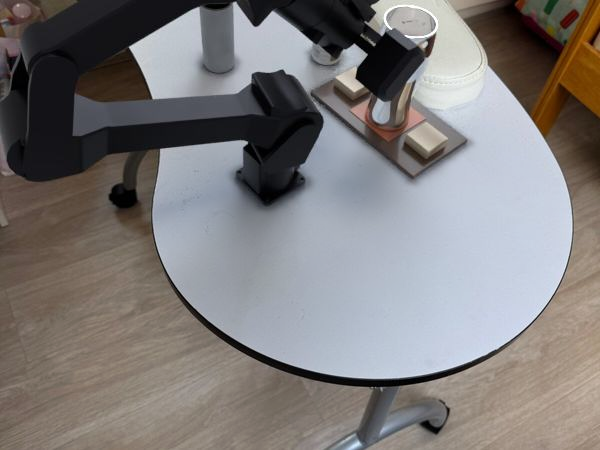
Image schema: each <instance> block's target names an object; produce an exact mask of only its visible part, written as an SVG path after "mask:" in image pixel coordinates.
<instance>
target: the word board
mask: <svg viewBox="0 0 600 450" xmlns="http://www.w3.org/2000/svg"><path fill="white" fill-rule="evenodd" d="M357 68H358V66H353V67H352V68H350V69H348V70H346V71H344V72H342V73H340V74H338V75H336V76H334V78H333V79H331V80H330V81H327V82H326V83H324V84H322V85H320V86H317V87H316V88H314V89H312V90H311V91H310V95H311V96H312V97H313V98H314V99H315V100H317V102H319V103H320V104H321V105H323V106H324V107H325V108H326V109H327V110H329V111H330V112H331V113H332V114H334V116H336V117H337V118H338V119H339V120H341V121H342V122H343V123H345V125H347V126H348V127H349V128H350V129H351V130H353V131H354V132H355V133H356V134H358V135H359V136H360V137H361V138H362V139H363V140H365V141H366V143H368V144H369V145H371V146H372V147H373V148H374V149H375V150H377V151H378V152H379V153H380V154H381V155H383V156H384V157H385V158H386V159H387V160H388V161H390V162H391V163H392V165H394V166H396V168H398V169H399V170H400V171H402V172H403V173H404V174H405V175H406V176H408V177H409V178H410V180H411V179H412V180H414V179H415V178H417V177H418V176H420V175H421V174H422V173H424V172H425V171H427V170H429V169H430V168H431V167H433V166H435V165H436V164H437V163H438V162H440V161H442V160H443V159H444V158H446V157H447V156H449V155H451V154H452V153H453V152H455V151H456V150H458V149H460V148H461V147H463V146H464V145H465V144H467V143H468V138H467V137H466V136H464V135H463V134H461V133H460V132H459V131H457V130H456V129H455V128H453V126H451V125H450V124H448V123H447V122H445V121H444V120H442V118H440V117H439V116H437V115H436V114H434V113H433V112H432V111H431V110H430V109H428V108H427V107H425V105H423V104H422V103H420V102H419V101H417V99H415V98H414V97H412V100H411V104H410V110H409V121H408V123H407V124H406V125H405V126H404V127H403V128H401V129H399V130H394V131H387V130H382V129H379V128H377V127H375V126H373V125H372V124H371V123H370V122H369V121H368V120H367V118H366V114H365V111H366V107H367V105H368V103H369V101H370V99H371V96H372V93H371V92H370V91H369V90H368V89H367V88H366V87H364V86H363V85H362V84H361V83H360V82H359V81H357V80H356V79H355V77H356V71H357Z"/></svg>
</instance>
